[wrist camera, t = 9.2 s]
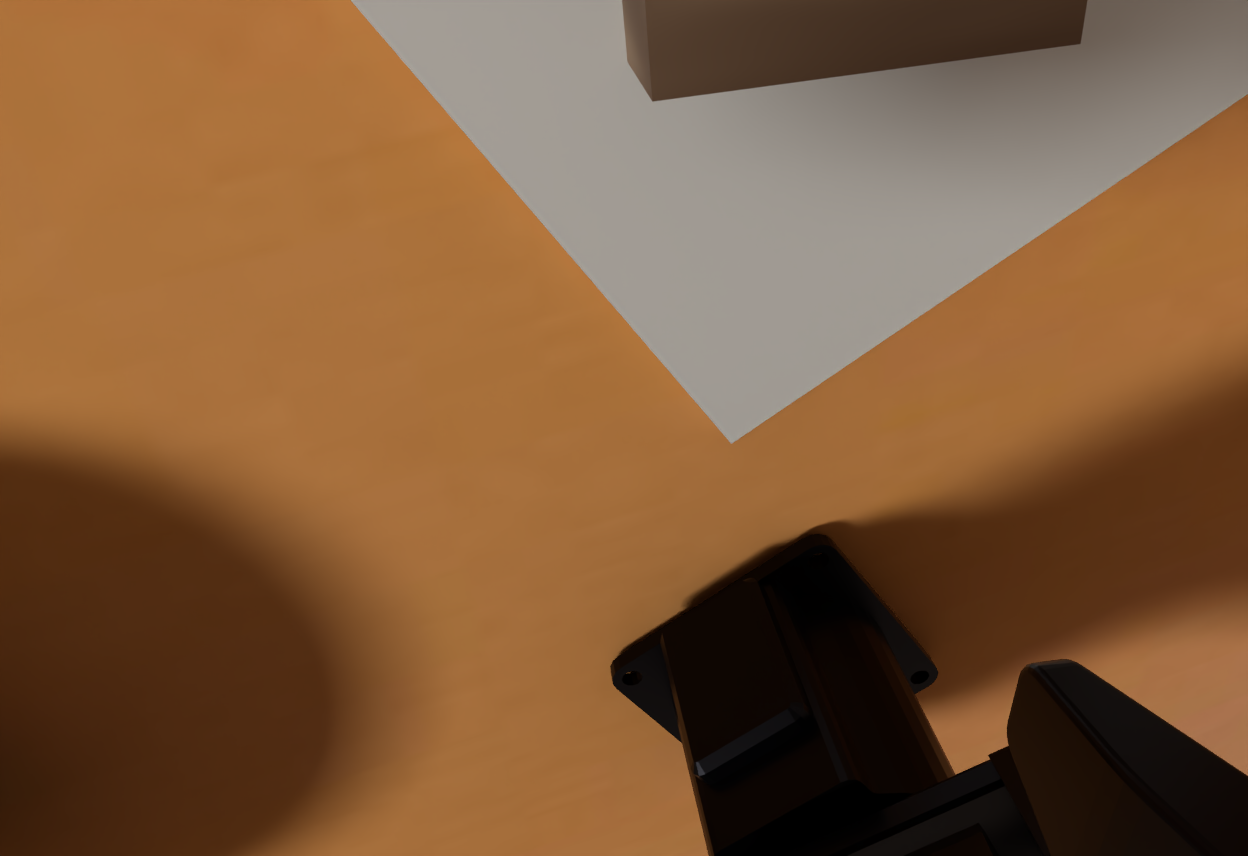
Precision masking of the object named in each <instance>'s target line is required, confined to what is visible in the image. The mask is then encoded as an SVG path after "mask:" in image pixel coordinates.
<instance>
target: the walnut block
mask: <svg viewBox="0 0 1248 856" xmlns="http://www.w3.org/2000/svg"><path fill="white" fill-rule="evenodd" d="M1087 1H1088V0H622V6H623V18H624V29H625V41H626V52H627V62H628V64H629V65H630V67H631V68H632V70H633V72H634V73H635V75H636V76H637V78H638V80H639V81H640V83H641V84H642V86H643V88H644V89H645V91H646V92H647V94H648V95H649V97H650V99H651V100H652V102H654V101H661V100H669V99H676V98H684V97H691V96H698V95H706V94H713V93H721V92H728V91H736V90H743V89H750V88H758V87H765V86H773V85H780V84H787V83H795V82H802V81H810V80H817V79H825V78H832V77H839V76H847V75H854V74H862V73H869V72H877V71H884V70H891V69H899V68H906V67H914V66H921V65H929V64H936V63H943V62H951V61H958V60H966V59H973V58H980V57H988V56H995V55H1003V54H1010V53H1018V52H1025V51H1032V50H1040V49H1047V48H1055V47H1062V46H1070V45H1077V44H1081V38H1082V32H1083V26H1084V19H1085V13H1086V7H1087Z"/></svg>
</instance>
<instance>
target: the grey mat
mask: <svg viewBox="0 0 1248 856" xmlns="http://www.w3.org/2000/svg"><path fill="white" fill-rule="evenodd" d="M351 1H352V2H353V3H354V5H355V6H356V7H357V8H358V9H359V10H360V12H361V13H362V14H363V15H364V16H365V17H366V19H367V20H368V21H369V22H370V23H371V24H372V26H373V27H374V28H375V29H376V30H377V31H378V33H379V34H380V35H381V36H382V37H383V38H384V40H385V41H386V42H387V43H388V44H389V45H390V47H391V48H392V49H393V50H394V51H395V52H396V54H397V55H398V56H399V57H400V58H401V59H402V61H403V62H404V63H405V64H406V65H407V66H408V67H409V69H410V70H411V71H412V72H413V73H414V74H415V76H416V77H417V78H418V79H419V80H420V81H421V83H422V84H423V85H424V86H425V87H426V88H427V90H428V91H429V92H430V93H431V94H432V95H433V97H434V98H435V99H436V100H437V101H438V102H439V104H440V105H441V106H442V107H443V108H444V109H445V111H446V112H447V113H448V114H449V115H450V116H451V118H452V119H453V120H454V121H455V122H456V123H457V125H458V126H459V127H460V128H461V129H462V130H463V132H464V133H465V134H466V135H467V136H468V137H469V139H470V140H471V141H472V142H473V143H474V144H475V146H476V147H477V148H478V149H479V150H480V151H481V153H482V154H483V155H484V156H485V157H486V158H487V160H488V161H489V162H490V163H491V164H492V165H493V167H494V168H495V169H496V170H497V171H498V172H499V173H500V175H501V176H502V177H503V178H504V179H505V180H506V182H507V183H508V184H509V185H510V186H511V187H512V189H513V190H514V191H515V192H516V193H517V194H518V196H519V197H520V198H521V199H522V200H523V201H524V203H525V204H526V205H527V206H528V207H529V208H530V210H531V211H532V212H533V213H534V214H535V215H536V217H537V218H538V219H539V220H540V221H541V222H542V224H543V225H544V226H545V227H546V228H547V229H548V231H549V232H550V233H551V234H552V235H553V236H554V238H555V239H556V240H557V241H558V242H559V243H560V245H561V246H562V247H563V248H564V249H565V250H566V252H567V253H568V254H569V255H570V256H571V257H572V259H573V260H574V261H575V262H576V263H577V264H578V266H579V267H580V268H581V269H582V270H583V271H584V272H585V274H586V275H587V276H588V277H589V278H590V279H591V281H592V282H593V283H594V284H595V285H596V286H597V288H598V289H599V290H600V291H601V292H602V293H603V295H604V296H605V297H606V298H607V299H608V300H609V302H610V303H611V304H612V305H613V306H614V307H615V309H616V310H617V311H618V312H619V313H620V314H621V316H622V317H623V318H624V319H625V320H626V321H627V323H628V324H629V325H630V326H631V327H632V328H633V330H634V331H635V332H636V333H637V334H638V335H639V337H640V338H641V339H642V340H643V341H644V342H645V344H646V345H647V346H648V347H649V348H650V349H651V351H652V352H653V353H654V354H655V355H656V356H657V358H658V359H659V360H660V361H661V362H662V363H663V365H664V366H665V367H666V368H667V369H668V370H669V371H670V373H671V374H672V375H673V376H674V377H675V378H676V380H677V381H678V382H679V383H680V384H681V385H682V387H683V388H684V389H685V390H686V391H687V392H688V394H689V395H690V396H691V397H692V398H693V399H694V401H695V402H696V403H697V404H698V405H699V406H700V408H701V409H702V410H703V411H704V412H705V413H706V415H707V416H708V417H709V418H710V419H711V420H712V422H713V423H714V424H715V425H716V426H717V427H718V429H719V430H720V431H721V432H722V433H723V434H724V436H725V437H726V438H727V439H728V440H729V441H730V443H731V444H732V443H733V442H735V441H736V440H738V439H739V438H741V437H742V436H744V435H745V434H746V433H748V432H749V431H751V430H752V429H754V428H755V427H757V426H758V425H760V424H761V423H763V422H764V421H766V420H767V419H769V418H770V417H772V416H773V415H775V414H776V413H777V412H779V411H780V410H782V409H783V408H785V407H786V406H788V405H789V404H791V403H792V402H794V401H795V400H797V399H798V398H800V397H801V396H803V395H804V394H806V393H807V392H808V391H810V390H811V389H813V388H814V387H816V386H817V385H819V384H820V383H822V382H823V381H825V380H826V379H828V378H829V377H831V376H832V375H834V374H835V373H837V372H838V371H840V370H841V369H842V368H844V367H845V366H847V365H848V364H850V363H851V362H853V361H854V360H856V359H857V358H859V357H860V356H862V355H863V354H865V353H866V352H868V351H869V350H871V349H872V348H873V347H875V346H876V345H878V344H879V343H881V342H882V341H884V340H885V339H887V338H888V337H890V336H891V335H893V334H894V333H896V332H897V331H899V330H900V329H902V328H903V327H904V326H906V325H907V324H909V323H910V322H912V321H913V320H915V319H916V318H918V317H919V316H921V315H922V314H924V313H925V312H927V311H928V310H930V309H931V308H933V307H934V306H935V305H937V304H938V303H940V302H941V301H943V300H944V299H946V298H947V297H949V296H950V295H952V294H953V293H955V292H956V291H958V290H959V289H961V288H962V287H964V286H965V285H967V284H968V283H969V282H971V281H972V280H974V279H975V278H977V277H978V276H980V275H981V274H983V273H984V272H986V271H987V270H989V269H990V268H992V267H993V266H995V265H996V264H998V263H999V262H1000V261H1002V260H1003V259H1005V258H1006V257H1008V256H1009V255H1011V254H1012V253H1014V252H1015V251H1017V250H1018V249H1020V248H1021V247H1023V246H1024V245H1026V244H1027V243H1029V242H1030V241H1031V240H1033V239H1034V238H1036V237H1037V236H1039V235H1040V234H1042V233H1043V232H1045V231H1046V230H1048V229H1049V228H1051V227H1052V226H1054V225H1055V224H1057V223H1058V222H1060V221H1061V220H1062V219H1064V218H1065V217H1067V216H1068V215H1070V214H1071V213H1073V212H1074V211H1076V210H1077V209H1079V208H1080V207H1082V206H1083V205H1085V204H1086V203H1088V202H1089V201H1091V200H1092V199H1094V198H1095V197H1096V196H1098V195H1099V194H1101V193H1102V192H1104V191H1105V190H1107V189H1108V188H1110V187H1111V186H1113V185H1114V184H1116V183H1117V182H1119V181H1120V180H1122V179H1123V178H1125V177H1126V176H1127V175H1129V174H1130V173H1132V172H1133V171H1135V170H1136V169H1138V168H1139V167H1141V166H1142V165H1144V164H1145V163H1147V162H1148V161H1150V160H1151V159H1153V158H1154V157H1156V156H1157V155H1158V154H1160V153H1161V152H1163V151H1164V150H1166V149H1167V148H1169V147H1170V146H1172V145H1173V144H1175V143H1176V142H1178V141H1179V140H1181V139H1182V138H1184V137H1185V136H1187V135H1188V134H1189V133H1191V132H1192V131H1194V130H1195V129H1197V128H1198V127H1200V126H1201V125H1203V124H1204V123H1206V122H1207V121H1209V120H1210V119H1212V118H1213V117H1215V116H1216V115H1218V114H1219V113H1220V112H1222V111H1223V110H1225V109H1226V108H1228V107H1229V106H1231V105H1232V104H1234V103H1235V102H1237V101H1238V100H1240V99H1241V98H1243V97H1244V96H1246V95H1247V94H1248V0H1088V1H1087V7H1086V13H1085V19H1084V26H1083V32H1082V38H1081V44H1077V45H1070V46H1062V47H1055V48H1047V49H1040V50H1032V51H1025V52H1018V53H1010V54H1003V55H995V56H988V57H980V58H973V59H966V60H958V61H951V62H943V63H936V64H929V65H921V66H914V67H906V68H899V69H891V70H884V71H877V72H869V73H862V74H854V75H847V76H839V77H832V78H825V79H817V80H810V81H802V82H795V83H787V84H780V85H773V86H765V87H758V88H750V89H743V90H736V91H728V92H721V93H713V94H706V95H698V96H691V97H684V98H676V99H669V100H661V101H654V102H652V100H651V99H650V97H649V95H648V94H647V92H646V91H645V89H644V88H643V86H642V84H641V83H640V81H639V80H638V78H637V76H636V75H635V73H634V72H633V70H632V68H631V67H630V65H629V64H628V62H627V52H626V41H625V29H624V18H623V6H622V0H351Z"/></svg>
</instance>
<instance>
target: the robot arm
mask: <svg viewBox="0 0 1248 856" xmlns="http://www.w3.org/2000/svg"><path fill="white" fill-rule="evenodd" d="M817 553H822V554H821V555H820V556H819V557H816V558H811V557H812V556H813V555H815V554H817ZM610 667H611V676H612V681H613V685H614V686H615V687H616V689H618V690H619V691H620V692H621V693H622V694H624V695H625V696H626V697H627V698H628V699H630V700H631V701H632V702H633V703H635V704H636V705H637V706H638V707H639V708H641V709H642V710H643V711H644V712H645V713H647V714H648V715H649V716H650V717H651V718H653V719H654V720H655V721H656V722H657V723H659V724H660V725H661V726H662V727H663V728H665V729H666V730H667V731H668V732H669V733H671V734H672V735H673V736H674V737H675V738H677V739H678V740H679V741H680V742H681V743H682V745H683V749H684V753H685V757H686V762H687V766H688V770H689V774H690V779H691V783H692V787H693V791H694V795H695V800H696V804H697V808H698V812H699V816H700V821H701V825H702V829H703V833H704V838H705V842H706V846H707V850H708V854H709V856H1248V776H1247V775H1246V774H1244V773H1243V772H1241V771H1240V770H1238V769H1237V768H1235V767H1234V766H1232V765H1231V764H1229V763H1228V762H1226V761H1225V760H1223V759H1222V758H1220V757H1219V756H1217V755H1216V754H1214V753H1213V752H1211V751H1210V750H1208V749H1207V748H1205V747H1204V746H1202V745H1201V744H1199V743H1198V742H1196V741H1195V740H1193V739H1192V738H1190V737H1189V736H1187V735H1186V734H1184V733H1183V732H1181V731H1180V730H1178V729H1177V728H1175V727H1174V726H1172V725H1171V724H1169V723H1168V722H1166V721H1165V720H1163V719H1162V718H1160V717H1159V716H1157V715H1156V714H1154V713H1153V712H1151V711H1150V710H1148V709H1147V708H1145V707H1144V706H1142V705H1141V704H1139V703H1138V702H1136V701H1135V700H1133V699H1132V698H1130V697H1129V696H1127V695H1126V694H1124V693H1123V692H1121V691H1120V690H1118V689H1117V688H1115V687H1114V686H1112V685H1111V684H1109V683H1108V682H1106V681H1105V680H1103V679H1102V678H1100V677H1099V676H1097V675H1096V674H1094V673H1093V672H1091V671H1090V670H1088V669H1087V668H1085V667H1084V666H1082V665H1080V664H1079V663H1077V662H1074V661H1072V660H1068V659H1059V660H1051V661H1044V662H1037V663H1031V664H1028V665H1026V666H1025V667H1024V669H1023V670H1022V671H1021V673H1020V676H1019V680H1018V684H1017V687H1016V691H1015V695H1014V699H1013V703H1012V707H1011V711H1010V715H1009V719H1008V724H1007V738H1008V744H1009V746H1007V747H1005V748H1003V749H1000V750H998V751H996V752H994V753H991V754H989V755H988V756H989V758H990V760H988V761H985V762H983V763H981V764H979V765H976V766H974V767H972V768H970V769H968V770H965V771H963V772H961V773H959V774H956V775H955V773H954V771H953V769H952V767H951V765H950V763H949V761H948V759H947V757H946V755H945V753H944V751H943V749H942V747H941V745H940V743H939V741H938V739H937V737H936V735H935V733H934V731H933V729H932V727H931V725H930V723H929V721H928V719H927V717H926V716H925V714H924V712H923V710H922V708H921V706H920V704H919V702H918V700H917V698H916V696H915V694H916V693H918V692H919V691H921V690H923V689H925V688H926V687H928V686H929V685H931V684H932V683H933V682H934V681H935V680H936V678H937V675H938V671H937V668H936V666H935V665H934V663H933V661H932V659H931V657H930V656H929V655H928V654H927V652H926V651H925V650H924V649H923V648H922V646H921V645H920V644H919V643H918V642H917V640H916V639H915V638H914V637H913V636H912V635H911V633H910V632H909V631H908V630H907V629H906V627H905V626H904V625H903V624H902V623H901V621H900V620H899V619H898V618H897V617H896V616H895V614H894V613H893V612H892V611H891V610H890V608H889V607H888V606H887V605H886V604H885V602H884V601H883V600H882V599H881V598H880V597H879V595H878V594H877V593H876V592H875V591H874V589H873V588H872V587H871V586H870V585H869V583H868V582H867V581H866V580H865V579H864V578H863V576H862V575H861V574H860V573H859V572H858V570H857V569H856V568H855V567H854V566H853V564H852V563H851V562H850V561H849V560H848V559H847V557H846V556H845V555H844V554H843V553H842V551H841V550H840V549H839V548H838V547H837V545H836V544H835V543H834V542H833V541H832V540H831V539H830V538H829V537H827V536H826V535H821V534H815V535H810V536H807V537H805V538H803V539H801V540H800V541H798V542H797V543H795V544H794V545H792V546H790V547H789V548H787V549H786V550H784V551H783V552H781V553H779V554H778V555H776V556H775V557H773V558H772V559H770V560H768V561H767V562H765V563H764V564H762V565H761V566H759V567H758V568H756V569H754V570H753V571H751V572H750V573H748V574H747V575H745V576H743V577H742V578H740V579H739V580H737V581H736V582H734V583H732V584H731V585H729V586H728V587H726V588H725V589H723V590H721V591H720V592H718V593H717V594H715V595H714V596H712V597H710V598H709V599H707V600H706V601H704V602H703V603H701V604H699V605H698V606H696V607H695V608H693V609H692V610H690V611H688V612H687V613H685V614H684V615H682V616H681V617H679V618H677V619H676V620H674V621H673V622H671V623H670V624H668V625H666V626H665V627H663V628H662V629H660V630H659V631H657V632H655V633H654V634H652V635H651V636H649V637H648V638H646V639H645V640H643V641H641V642H640V643H638V644H637V645H635V646H634V647H632V648H630V649H629V650H627V651H626V652H624V653H623V654H621V655H619V656H618V657H617V658H616V659H615V660H613V662H612V664H611V666H610ZM630 671H636V672H633V673H628V672H630Z"/></svg>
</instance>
